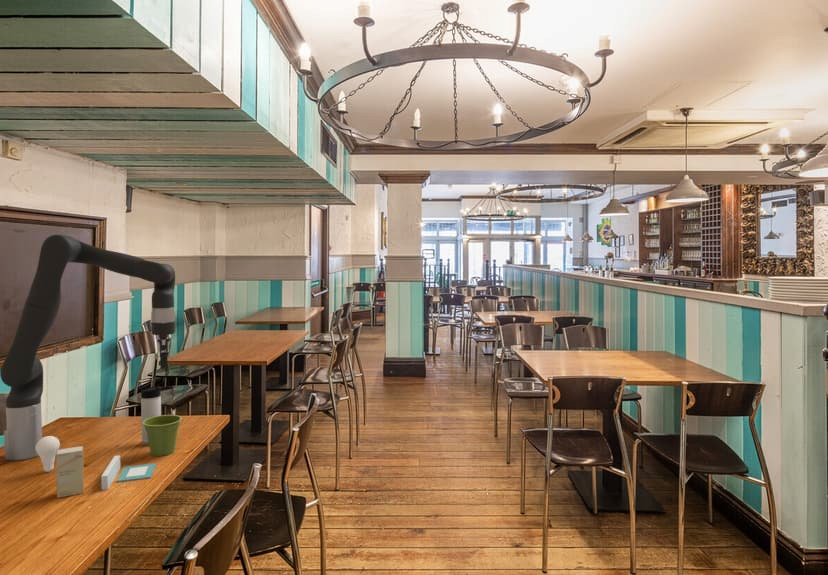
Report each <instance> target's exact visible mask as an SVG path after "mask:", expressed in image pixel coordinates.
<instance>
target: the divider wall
mask: <svg viewBox="0 0 828 575" xmlns="http://www.w3.org/2000/svg"><path fill="white" fill-rule="evenodd" d="M120 469H121V455H114V456H113V458H112V459H111V461H110V462H109V463H108V465H107V467H106V468H105V469H104V472H103V473H102V475H101V476H100V478H101V491H107V490H109V488H110V487H111V484H113V482H114V480H115V478H116V476H117V475H118V473H119V472H120Z"/></svg>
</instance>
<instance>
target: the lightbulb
mask: <svg viewBox="0 0 828 575" xmlns="http://www.w3.org/2000/svg"><path fill="white" fill-rule="evenodd" d="M60 447H61V442H60V440H59V438H58V437H56V436H53V435H47V436H44V437H43V436H42V438H41V439H40V440H39V441H38V442H37V444H36V447H35V450H36V452H37V454H38V456H39V457H40V461H41V465H42V467H43V471H44V472H46V473H50V472H52V470H54V469H55V468H54V467H55V465H54V464H55V462H56V460H55V459H56V457H57V450H60Z"/></svg>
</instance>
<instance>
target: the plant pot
mask: <svg viewBox="0 0 828 575" xmlns="http://www.w3.org/2000/svg"><path fill="white" fill-rule="evenodd" d="M182 418H183V417H182V416H180V415H177V414H163V415H162V414H161V416H155V417H151V418H148V419H146V420H144V421H143V425H144V426H145V430H146V432H147V437H148V442H149V445H148V446H149V447H148V448H149V451H150V455H151V456H153V457H154V456H155V457H162V456H165V455H171V454H173V453H174V452H175V450H176V444H177V439H178V438H177V437H178V430H179V427H180V424H181V423H180V422H181V420H182Z"/></svg>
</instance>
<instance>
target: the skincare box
mask: <svg viewBox="0 0 828 575" xmlns="http://www.w3.org/2000/svg"><path fill="white" fill-rule="evenodd" d="M83 493H84V446H83V445H81V446H73V447H68V448H59V450H57V453H56V498H57V499H59V498H65V497H70V496H75V495H79V494H83Z"/></svg>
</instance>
